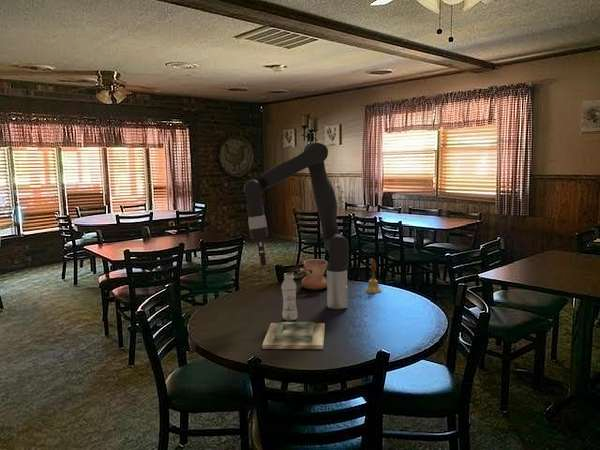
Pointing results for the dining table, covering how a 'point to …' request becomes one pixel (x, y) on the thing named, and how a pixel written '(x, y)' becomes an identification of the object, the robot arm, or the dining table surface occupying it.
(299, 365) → the dining table surface
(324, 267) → the ceramic jug
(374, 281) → the hand bell
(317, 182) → the robot arm
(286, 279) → the plastic bottle
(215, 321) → the dining table surface
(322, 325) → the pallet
